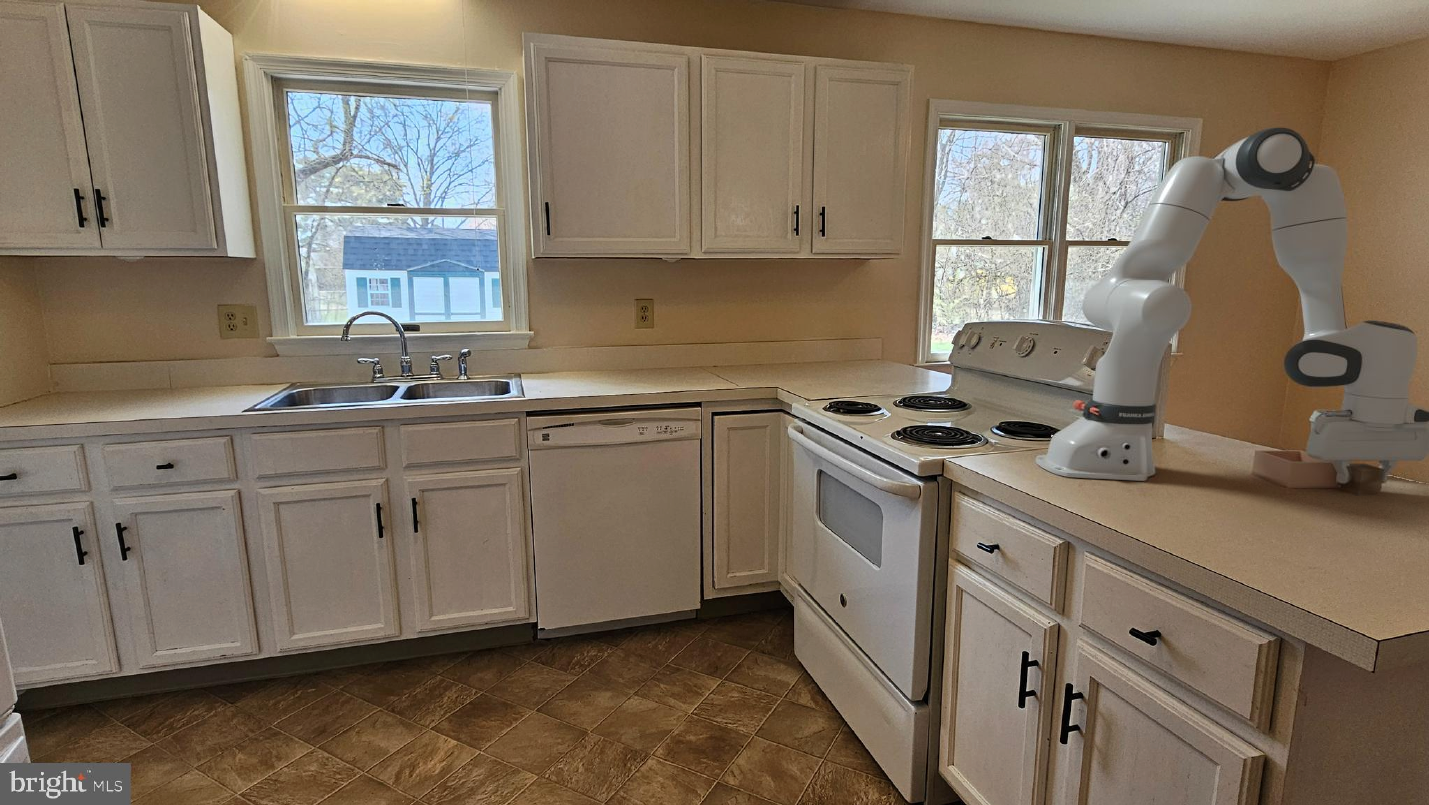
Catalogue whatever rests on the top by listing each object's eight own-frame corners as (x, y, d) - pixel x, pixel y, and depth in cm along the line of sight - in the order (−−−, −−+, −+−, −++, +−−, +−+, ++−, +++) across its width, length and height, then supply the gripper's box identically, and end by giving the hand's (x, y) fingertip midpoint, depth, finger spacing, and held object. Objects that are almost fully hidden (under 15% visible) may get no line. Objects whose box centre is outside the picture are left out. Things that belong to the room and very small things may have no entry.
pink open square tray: (1287, 487, 136) (1291, 462, 135) (1251, 474, 145) (1255, 450, 144) (1335, 487, 136) (1339, 462, 135) (1296, 474, 145) (1300, 450, 144)
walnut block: (1358, 495, 132) (1362, 469, 131) (1339, 488, 136) (1343, 463, 135) (1379, 495, 132) (1384, 469, 131) (1360, 488, 136) (1364, 463, 135)
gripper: (1332, 413, 128) (1319, 487, 131) (1445, 413, 128) (1430, 487, 131) (1303, 407, 134) (1292, 477, 137) (1411, 406, 134) (1398, 477, 137)
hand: (1360, 482), depth 134 cm, fingers open, 5 cm apart
